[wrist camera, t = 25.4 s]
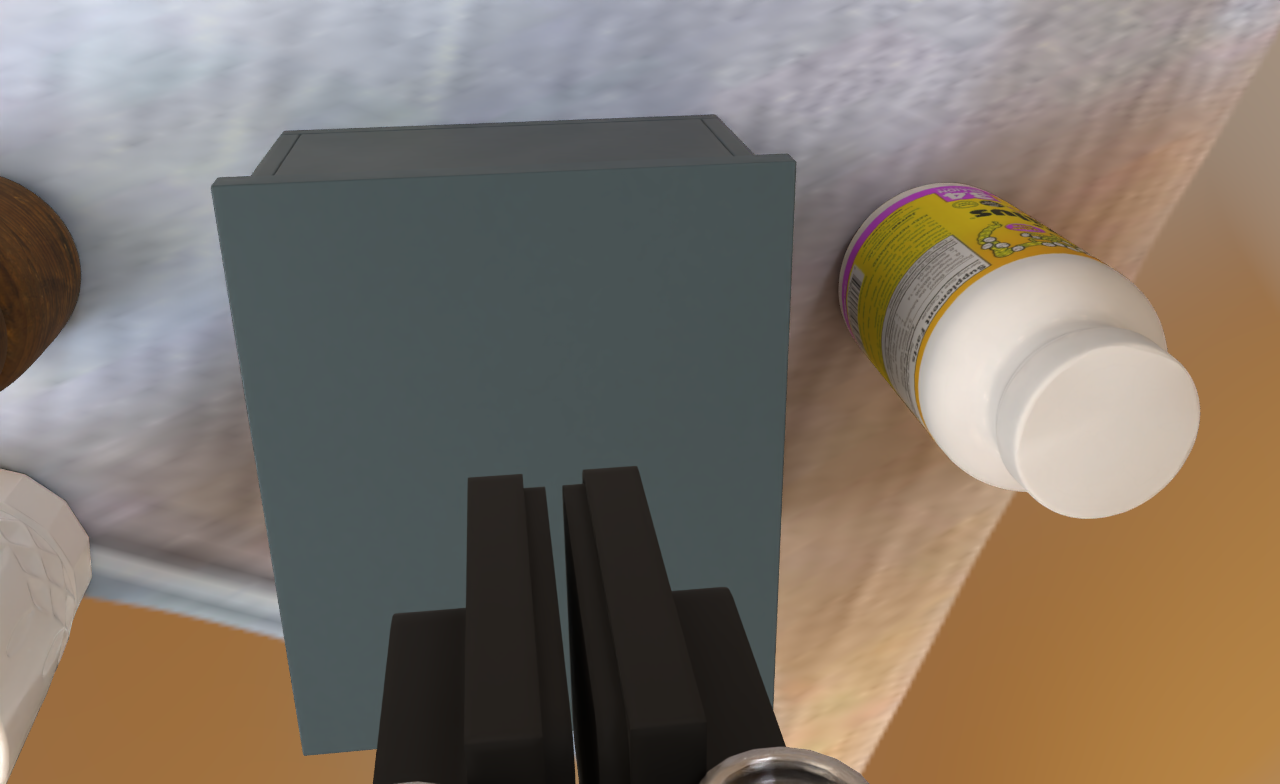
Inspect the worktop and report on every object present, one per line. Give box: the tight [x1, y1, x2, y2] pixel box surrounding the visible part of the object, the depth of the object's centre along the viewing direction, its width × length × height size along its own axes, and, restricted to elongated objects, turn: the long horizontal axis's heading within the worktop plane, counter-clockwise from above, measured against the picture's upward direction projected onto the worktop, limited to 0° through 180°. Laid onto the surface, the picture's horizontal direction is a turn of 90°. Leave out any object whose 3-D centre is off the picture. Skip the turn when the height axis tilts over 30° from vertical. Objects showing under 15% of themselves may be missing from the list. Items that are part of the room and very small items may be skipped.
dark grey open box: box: [251, 115, 754, 176], centre depth 36 cm, size 15×13×9 cm
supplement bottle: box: [839, 183, 1200, 519], centre depth 35 cm, size 7×7×13 cm
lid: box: [211, 154, 796, 756], centre depth 31 cm, size 16×13×1 cm
